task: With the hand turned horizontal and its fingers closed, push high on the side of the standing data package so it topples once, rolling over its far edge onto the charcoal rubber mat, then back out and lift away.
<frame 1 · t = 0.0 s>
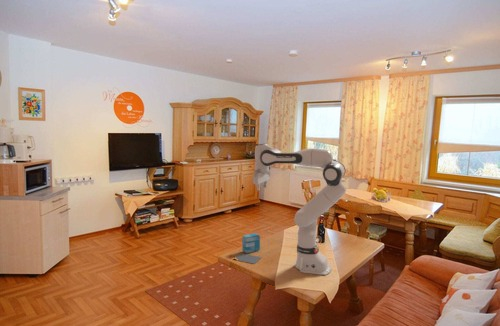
hand: (261, 188, 204), 48 cm above the table, tool pointing down, fingers open, 8 cm apart
data package: (251, 251, 221), on the table
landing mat: (246, 258, 209), on the table
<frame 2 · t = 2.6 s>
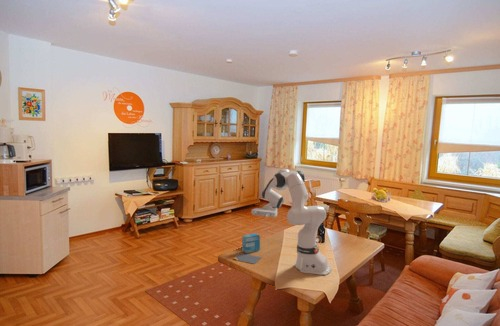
hand: (260, 215, 233), 22 cm above the table, tool horizontal, fingers open, 7 cm apart
nothing on the table moved.
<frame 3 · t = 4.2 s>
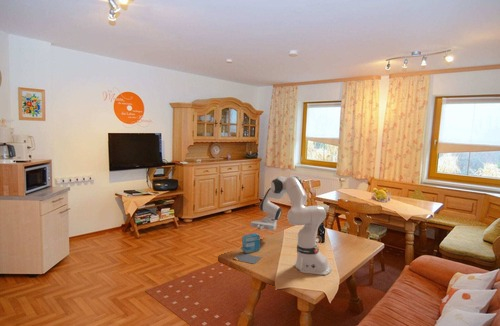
hand: (259, 228, 232), 13 cm above the table, tool horizontal, fingers closed
nothing on the table moved.
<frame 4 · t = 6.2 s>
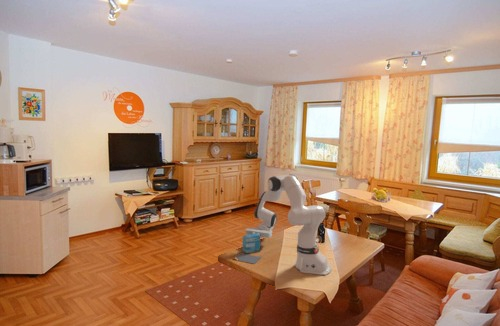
hand: (253, 235, 224), 10 cm above the table, tool horizontal, fingers closed
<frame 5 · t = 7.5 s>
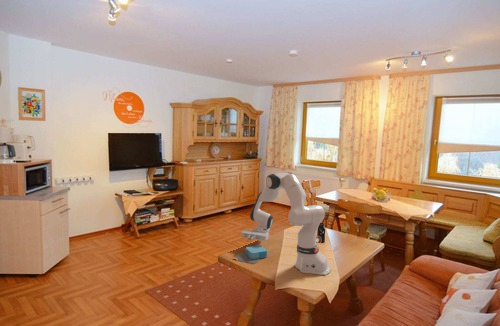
hand: (249, 238, 218), 10 cm above the table, tool horizontal, fingers closed
data package: (252, 249, 219), point 2 cm above the table, touching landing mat
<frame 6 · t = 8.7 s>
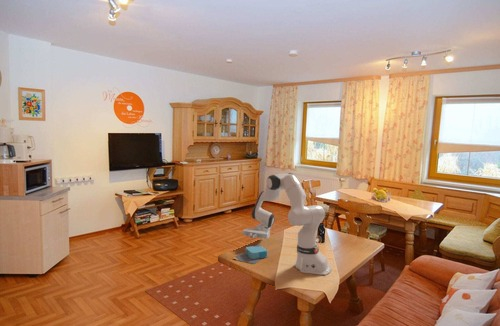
hand: (251, 236, 221), 10 cm above the table, tool horizontal, fingers closed
nothing on the table moved.
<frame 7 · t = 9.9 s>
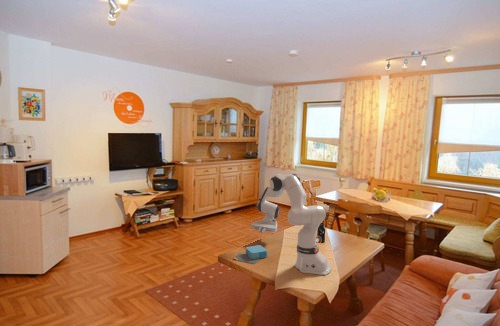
hand: (260, 231, 230), 11 cm above the table, tool horizontal, fingers closed
nothing on the table moved.
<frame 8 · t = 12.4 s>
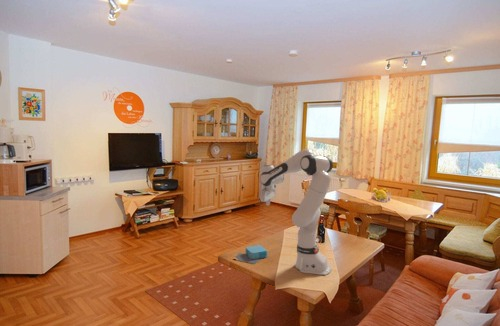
hand: (268, 205, 227), 31 cm above the table, tool pointing down, fingers closed
nothing on the table moved.
at the end: data package tilted 89°; data package touching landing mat, table; the gripper is holding nothing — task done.
